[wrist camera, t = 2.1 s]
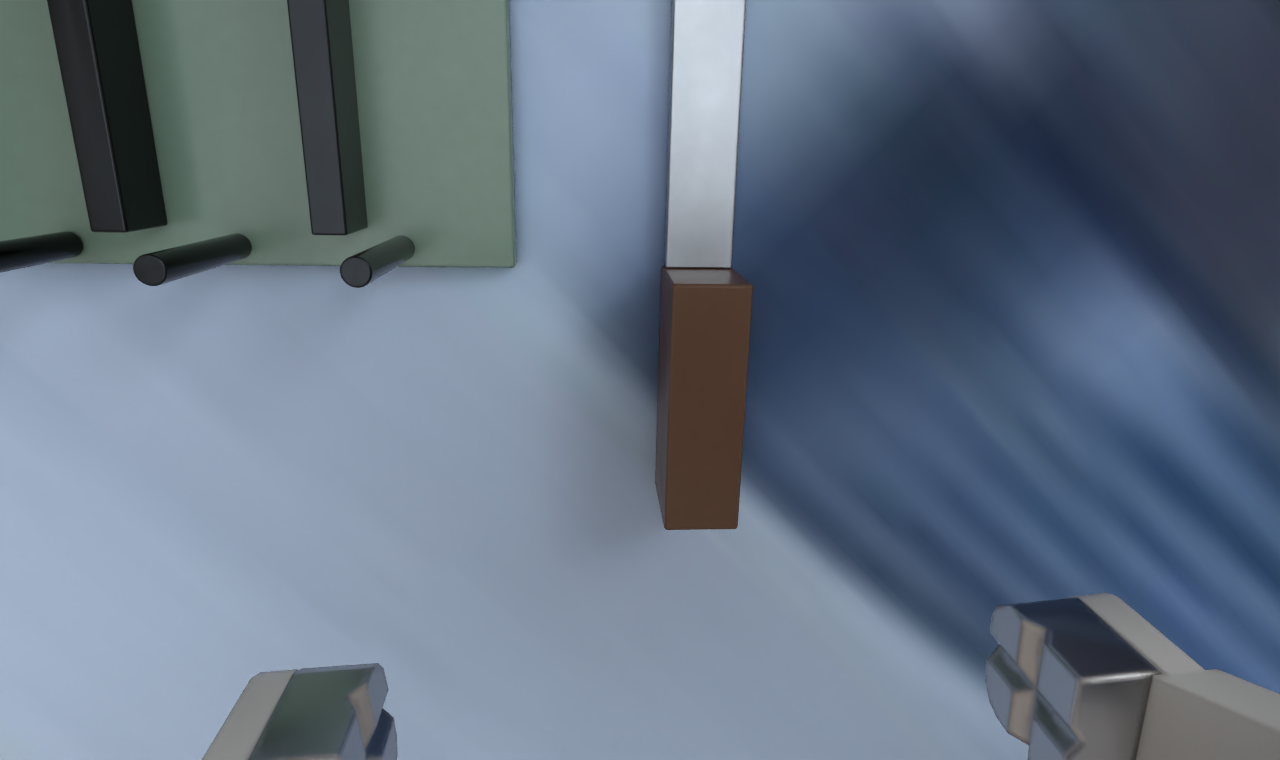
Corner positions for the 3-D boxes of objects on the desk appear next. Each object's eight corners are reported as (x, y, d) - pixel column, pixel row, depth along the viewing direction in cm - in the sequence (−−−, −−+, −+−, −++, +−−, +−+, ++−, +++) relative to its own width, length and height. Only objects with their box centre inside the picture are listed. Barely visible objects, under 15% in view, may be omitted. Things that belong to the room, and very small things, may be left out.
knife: (719, 482, 28) (738, 530, 24) (654, 483, 28) (664, 531, 24) (747, -30, 23) (776, -63, 19) (669, -33, 23) (683, -66, 19)
